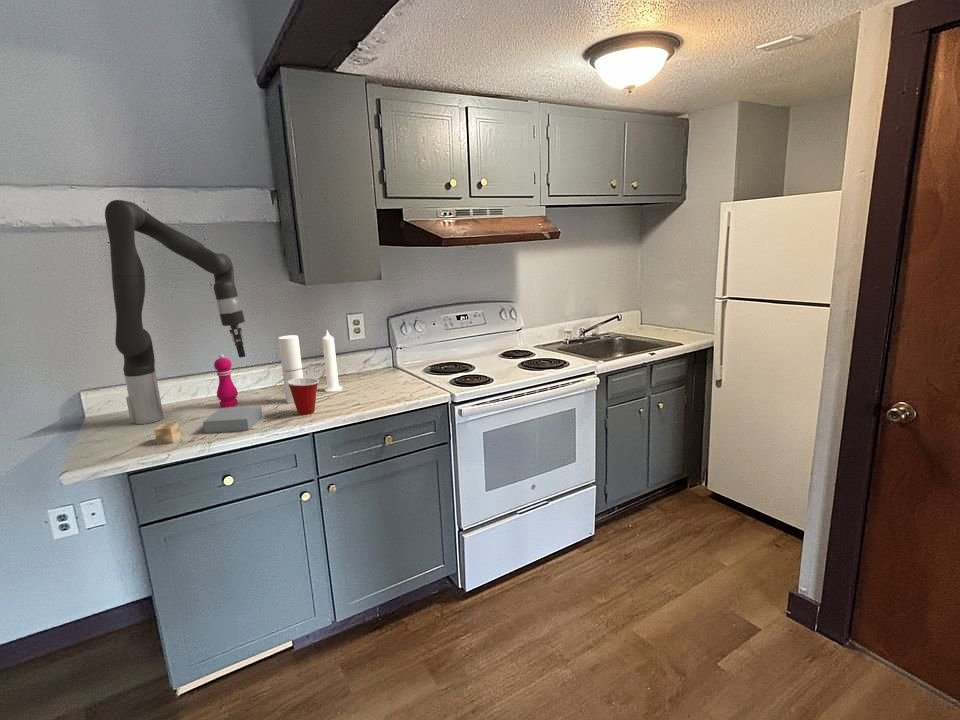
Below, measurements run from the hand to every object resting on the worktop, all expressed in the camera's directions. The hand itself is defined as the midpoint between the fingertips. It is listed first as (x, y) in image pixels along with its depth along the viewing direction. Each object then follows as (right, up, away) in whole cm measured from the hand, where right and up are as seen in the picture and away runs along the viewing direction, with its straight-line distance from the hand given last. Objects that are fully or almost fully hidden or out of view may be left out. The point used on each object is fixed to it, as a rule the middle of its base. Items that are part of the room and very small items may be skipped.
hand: (241, 355), depth 192 cm
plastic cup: (+23, -21, 0) cm, 31 cm away
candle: (+25, -14, +27) cm, 40 cm away
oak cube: (-13, -27, -23) cm, 38 cm away
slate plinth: (+2, -24, -10) cm, 26 cm away
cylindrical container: (+14, -18, +15) cm, 27 cm away
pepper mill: (-10, -19, +13) cm, 25 cm away
